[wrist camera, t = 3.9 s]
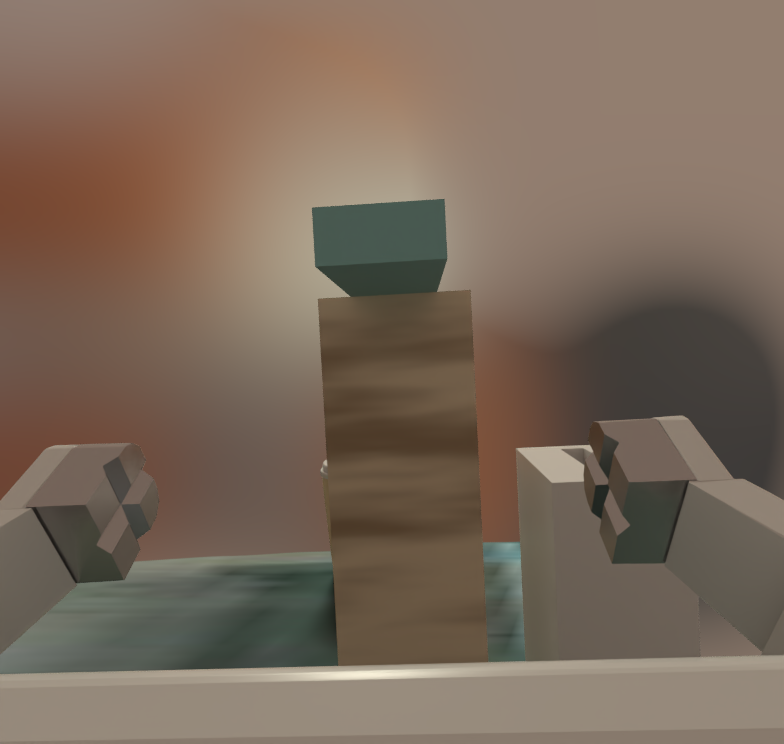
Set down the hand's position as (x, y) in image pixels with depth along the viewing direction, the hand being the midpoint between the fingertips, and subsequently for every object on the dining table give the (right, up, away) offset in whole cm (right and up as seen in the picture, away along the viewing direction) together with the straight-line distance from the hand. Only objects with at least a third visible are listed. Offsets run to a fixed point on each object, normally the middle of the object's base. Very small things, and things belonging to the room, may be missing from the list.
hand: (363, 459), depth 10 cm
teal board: (+1, +6, +23) cm, 23 cm away
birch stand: (+2, -20, +24) cm, 32 cm away
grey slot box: (+13, -20, +23) cm, 33 cm away
